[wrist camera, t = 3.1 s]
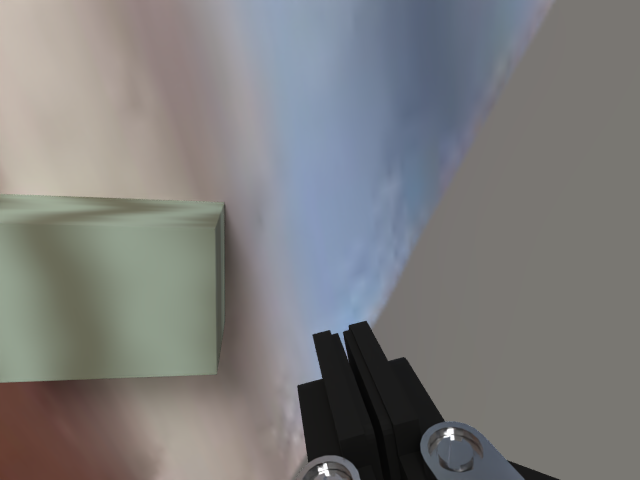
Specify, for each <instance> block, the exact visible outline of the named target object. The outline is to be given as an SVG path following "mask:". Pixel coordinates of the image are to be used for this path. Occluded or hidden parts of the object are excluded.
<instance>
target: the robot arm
mask: <svg viewBox="0 0 640 480" xmlns="http://www.w3.org/2000/svg"><path fill="white" fill-rule="evenodd" d="M343 335H344V340H345V345H346V350H347V355H348V359H347V356H346V353H345V351H344V348H343V345H342V343H341V340H340V337H339V335H338V333H336V334H332V335H331V332H330V330H328V331H324V332H320V333H317V334H313V339H314V344H315V348H316V352H317V357H318V361H319V365H320V369H321V374H322V378H323V379H320V380H316V381H312V382H309V383H305V384H301V385H298V386H297V387H298V395H299V402H300V409H301V415H302V422H303V429H304V436H305V443H306V450H307V456H308V464H306V466H305V467H303V469H302V470H301V471H300V472H299V474H298V475H297V477H296V479H295V480H559V479H556V478H554V477H551V476H548V475H546V474H543V473H540V472H538V471H535V470H532V469H529V468H527V467H524V466H521V465H518V464H516V463H513V462H510V461H508V460H506V459H505V458H504V457H503V456H502V455H501V454H500V453H499V452H498V451H497V449H495V447H494V446H493V445H492V444H491V443H490V442H489V441H488V440H487V439H486V438H485V437H484V436H483V435H482V434H481V433H480V432H479V431H477V430H476V429H475V428H473V427H471V426H469V425H467V424H464V423H459V422H445V421H444V419H443V418H442V416H441V414H440V413H439V411H438V410H437V408H436V406H435V405H434V403H433V401H432V400H431V398H430V396H429V395H428V393H427V392H426V390H425V388H424V387H423V385H422V384H421V382H420V380H419V379H418V377H417V375H416V374H415V372H414V371H413V369H412V367H411V366H410V364H409V362H408V361H407V360H406V358H404V357H403V358H399V359H395V360H391V361H388V360H387V358H386V356H385V354H384V353H383V351H382V349H381V347H380V345H379V344H378V341H377V340H376V338H375V336H374V334H373V332H372V330H371V328H370V326H369V325H368V323H367V321H363V322H359V323H356V324H352V325H349V330H348V331H344V332H343ZM348 360H349V361H348Z"/></svg>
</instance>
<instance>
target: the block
mask: <svg viewBox="0 0 640 480" xmlns="http://www.w3.org/2000/svg"><path fill="white" fill-rule="evenodd" d="M224 324H225V247H224V202H200V201H174V200H147V199H121V198H94V197H68V196H41V195H15V194H0V382H26V381H53V380H80V379H108V378H135V377H162V376H190V375H217V370H218V363H219V357H220V350H221V344H222V337H223V331H224Z"/></svg>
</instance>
